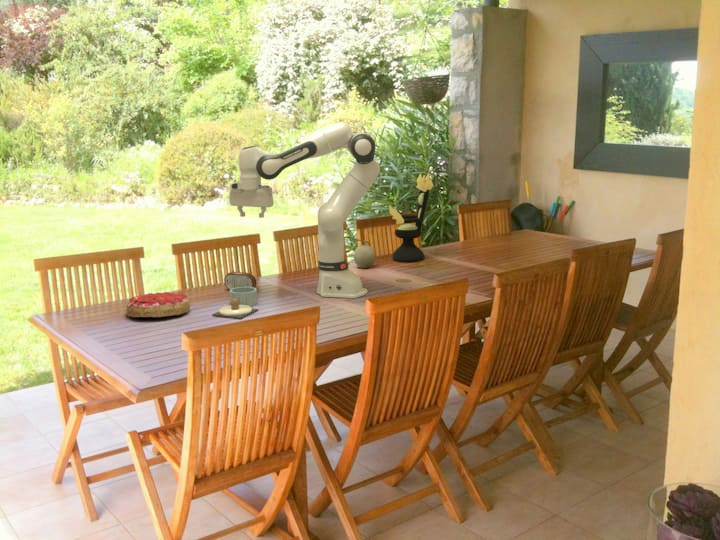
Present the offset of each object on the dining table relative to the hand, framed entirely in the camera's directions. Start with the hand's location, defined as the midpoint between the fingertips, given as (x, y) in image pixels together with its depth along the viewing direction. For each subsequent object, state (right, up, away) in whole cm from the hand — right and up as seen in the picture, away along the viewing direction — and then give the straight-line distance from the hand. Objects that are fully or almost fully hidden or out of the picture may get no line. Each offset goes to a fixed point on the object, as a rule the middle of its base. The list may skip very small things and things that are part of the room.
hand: (252, 217), depth 333 cm
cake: (-35, -41, -20) cm, 57 cm away
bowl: (-2, -37, -8) cm, 38 cm away
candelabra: (+73, -17, +75) cm, 106 cm away
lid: (-3, -39, -23) cm, 46 cm away
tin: (-7, -32, +14) cm, 36 cm away
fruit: (+49, -22, +57) cm, 78 cm away
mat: (-3, -40, -23) cm, 46 cm away
